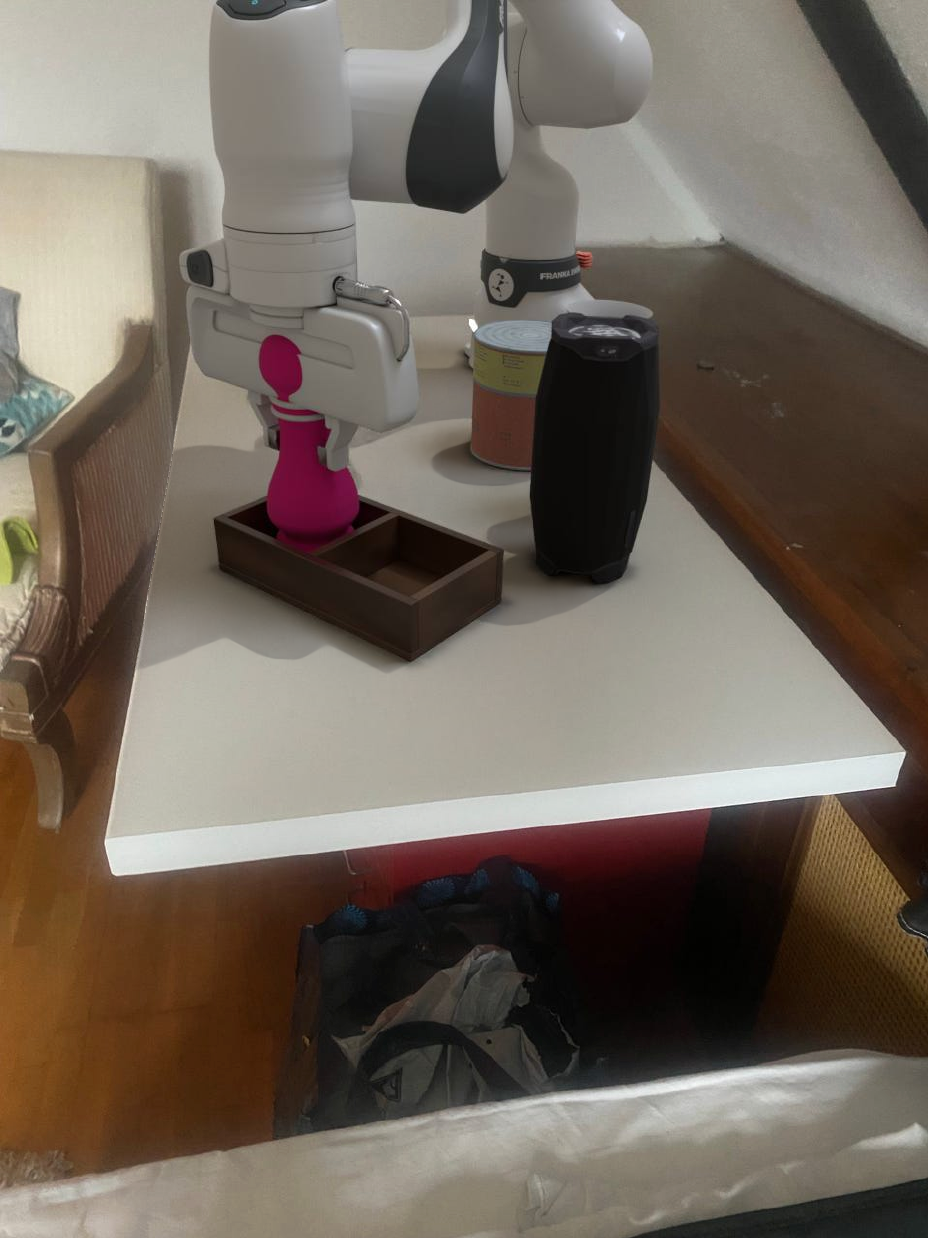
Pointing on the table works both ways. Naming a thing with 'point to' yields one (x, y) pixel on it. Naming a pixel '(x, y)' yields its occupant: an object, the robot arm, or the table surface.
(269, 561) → the compartment tray
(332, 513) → the pepper mill
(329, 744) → the table surface
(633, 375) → the portable speaker
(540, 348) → the canned food
